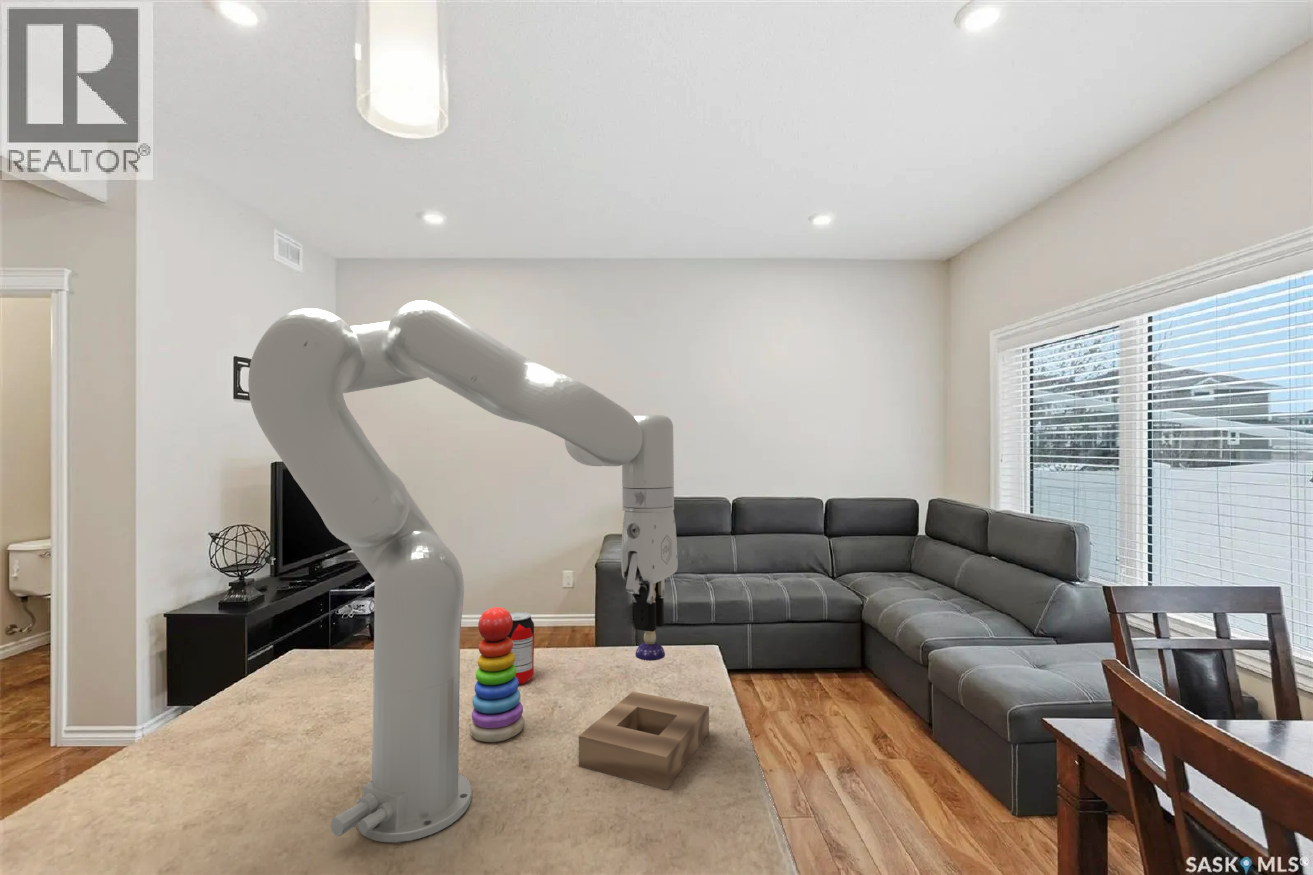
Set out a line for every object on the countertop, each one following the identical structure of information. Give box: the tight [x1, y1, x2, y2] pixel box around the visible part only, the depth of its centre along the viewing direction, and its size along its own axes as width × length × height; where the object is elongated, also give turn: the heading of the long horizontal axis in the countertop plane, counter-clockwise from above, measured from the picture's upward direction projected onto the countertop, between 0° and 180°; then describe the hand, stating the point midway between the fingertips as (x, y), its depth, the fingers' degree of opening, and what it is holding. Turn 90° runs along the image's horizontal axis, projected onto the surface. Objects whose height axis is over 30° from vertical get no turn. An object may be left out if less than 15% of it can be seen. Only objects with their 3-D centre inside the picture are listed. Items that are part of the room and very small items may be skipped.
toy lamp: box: [635, 583, 666, 662], centre depth 82 cm, size 5×5×17 cm
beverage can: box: [507, 611, 535, 685], centre depth 106 cm, size 6×6×12 cm
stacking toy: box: [469, 606, 525, 743], centre depth 86 cm, size 8×8×19 cm
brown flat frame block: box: [578, 691, 710, 791], centre depth 81 cm, size 16×13×4 cm
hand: (649, 626), depth 82 cm, fingers closed on toy lamp
